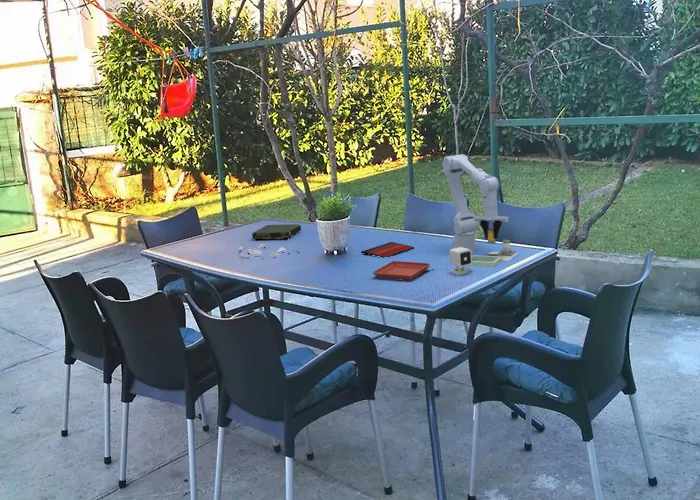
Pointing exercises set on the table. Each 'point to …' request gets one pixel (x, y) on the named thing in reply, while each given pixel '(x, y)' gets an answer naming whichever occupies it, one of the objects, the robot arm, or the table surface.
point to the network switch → (276, 231)
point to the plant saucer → (401, 270)
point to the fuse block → (503, 255)
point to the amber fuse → (491, 235)
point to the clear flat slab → (260, 252)
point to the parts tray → (495, 260)
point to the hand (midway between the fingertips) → (491, 238)
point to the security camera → (460, 260)
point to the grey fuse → (506, 246)
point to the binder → (388, 249)
